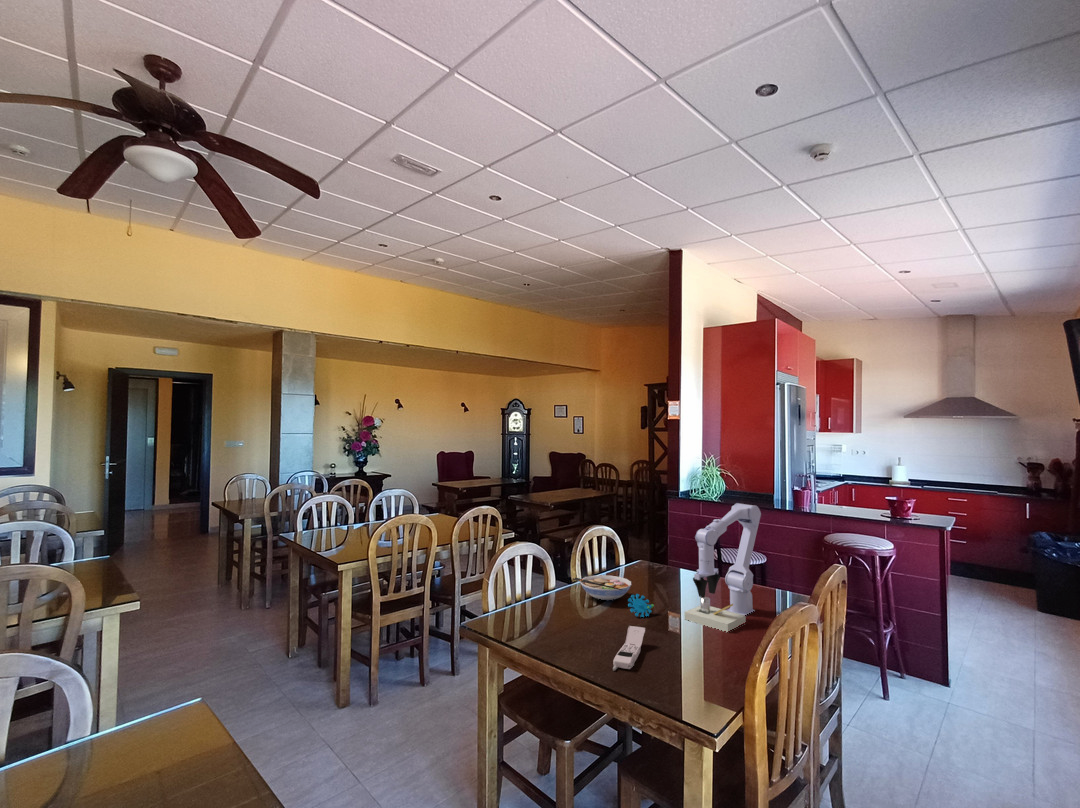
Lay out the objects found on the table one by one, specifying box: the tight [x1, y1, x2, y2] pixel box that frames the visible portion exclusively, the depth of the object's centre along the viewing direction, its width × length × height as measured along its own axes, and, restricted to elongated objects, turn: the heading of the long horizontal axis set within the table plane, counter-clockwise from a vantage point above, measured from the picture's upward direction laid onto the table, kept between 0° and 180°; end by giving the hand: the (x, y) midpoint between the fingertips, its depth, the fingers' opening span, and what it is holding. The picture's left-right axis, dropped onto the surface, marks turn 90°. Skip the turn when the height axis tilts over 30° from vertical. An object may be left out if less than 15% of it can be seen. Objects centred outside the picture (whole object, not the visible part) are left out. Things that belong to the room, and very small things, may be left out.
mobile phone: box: [612, 625, 646, 671], centre depth 167 cm, size 6×6×25 cm
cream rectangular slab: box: [684, 604, 747, 633], centre depth 200 cm, size 14×18×3 cm
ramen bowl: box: [572, 574, 632, 601], centre depth 228 cm, size 25×23×8 cm
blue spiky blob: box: [627, 593, 654, 618], centre depth 208 cm, size 11×6×10 cm
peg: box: [700, 596, 711, 614], centre depth 203 cm, size 4×4×8 cm
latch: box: [713, 604, 733, 615], centre depth 197 cm, size 8×3×1 cm
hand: (707, 595), depth 203 cm, fingers open, 7 cm apart
